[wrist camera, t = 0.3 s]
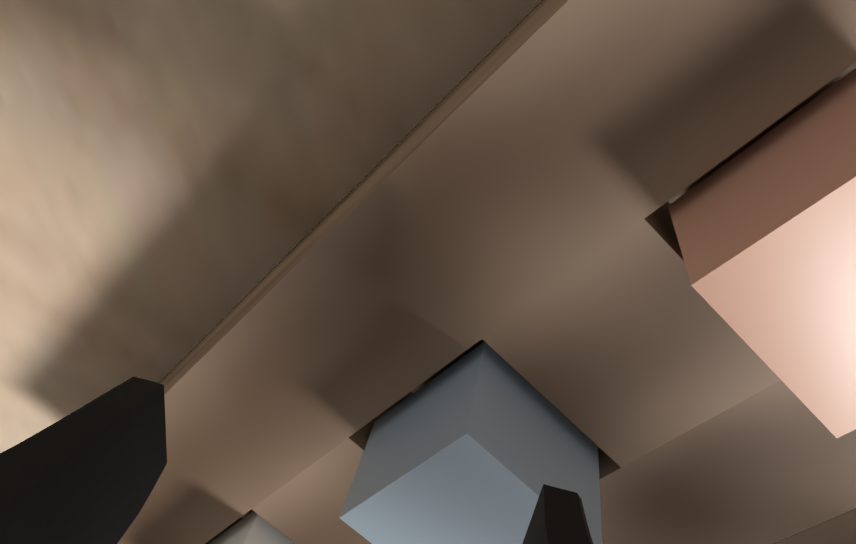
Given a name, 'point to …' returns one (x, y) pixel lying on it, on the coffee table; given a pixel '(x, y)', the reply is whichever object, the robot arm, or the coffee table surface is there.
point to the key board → (532, 288)
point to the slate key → (469, 460)
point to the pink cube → (786, 250)
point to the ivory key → (252, 532)
